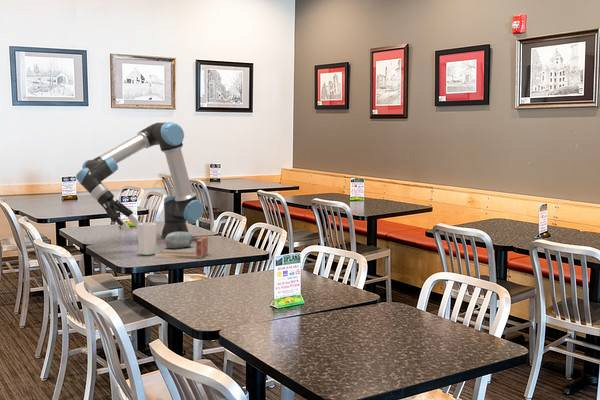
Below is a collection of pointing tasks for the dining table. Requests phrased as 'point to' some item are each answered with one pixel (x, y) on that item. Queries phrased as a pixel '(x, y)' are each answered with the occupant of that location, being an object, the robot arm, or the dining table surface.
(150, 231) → the cup
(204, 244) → the board
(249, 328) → the dining table surface
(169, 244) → the grey stone
